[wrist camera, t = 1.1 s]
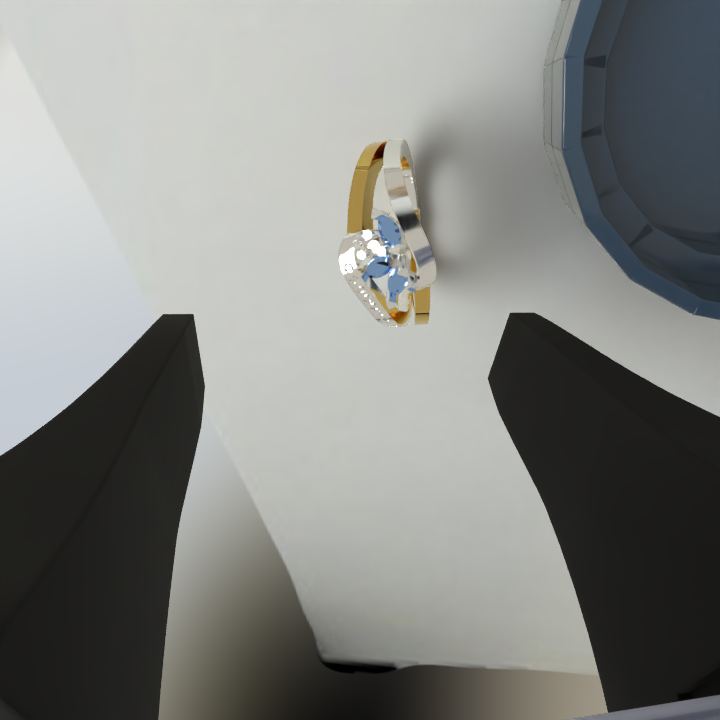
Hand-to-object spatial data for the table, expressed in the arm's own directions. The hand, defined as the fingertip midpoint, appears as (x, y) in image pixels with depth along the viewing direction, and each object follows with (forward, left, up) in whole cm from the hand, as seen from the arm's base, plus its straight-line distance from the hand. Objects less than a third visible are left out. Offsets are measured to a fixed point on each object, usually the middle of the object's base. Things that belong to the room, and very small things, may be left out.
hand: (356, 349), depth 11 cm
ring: (0, 0, -13) cm, 13 cm away
